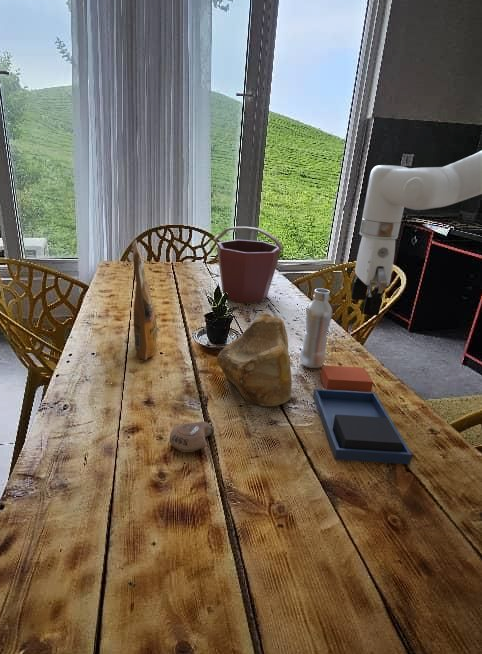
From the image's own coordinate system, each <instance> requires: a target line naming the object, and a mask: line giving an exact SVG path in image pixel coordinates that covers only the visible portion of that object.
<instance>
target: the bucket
mask: <svg viewBox="0 0 482 654" xmlns="http://www.w3.org/2000/svg"><path fill="white" fill-rule="evenodd" d="M234 230H248V231H249V230H250V231H255V232H258V233H260V234H261V235H264V236H265V237H267V238H268V239H270V240H271V241H273V243H274V244H273V243H270V242H266V241H263V240H262V241H261V240H249V239H231V240H230V239H229V240H225V241H218V240H220V239H221V238H223V237H224V236H225V235H226V234H227V233H228V232H230V231H234ZM213 240H214V243H215V245H216V246H217V249H216V251H217V260H218V268H219V275H220V282H221V283H220V284H221V291H223V292H222V294H223V293H226V292H227V293H228V299H227V300H229V301H233V302H237V303H241V304H251V303H263V302H264V300H266V299H267V298H268V294H269V291H270V290H271V289H270V287H271V285H272V282H273V278H274V276H275V271H276V269H277V267H278V262H279V258H280V254H281V251H282V250H283V248H284V247H283V245H282V243H281V242H280V241H279V239H278V238H277V237H275V236H274V235H273V234H271V233H269V232H268V231H266V230H265V229H262V228H259V227H254V226H231V227H227V228H224V229H223V231H221V233H219V235H215V237H213Z"/></svg>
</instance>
